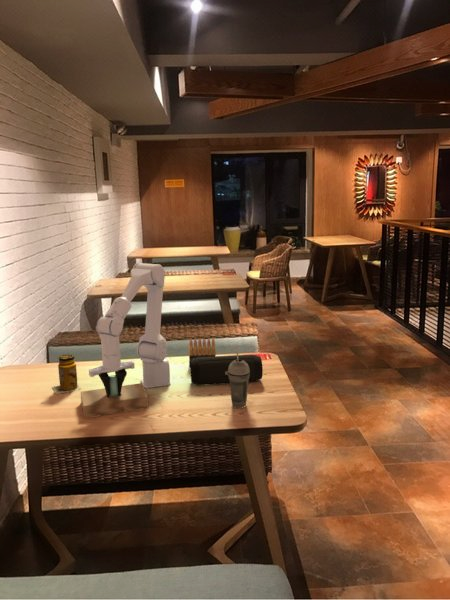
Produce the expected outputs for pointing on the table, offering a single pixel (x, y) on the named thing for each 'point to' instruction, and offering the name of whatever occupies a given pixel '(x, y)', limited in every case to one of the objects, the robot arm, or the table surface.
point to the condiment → (67, 375)
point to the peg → (113, 386)
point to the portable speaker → (222, 369)
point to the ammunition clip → (201, 349)
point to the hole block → (113, 401)
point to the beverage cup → (238, 381)
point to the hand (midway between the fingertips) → (113, 392)
